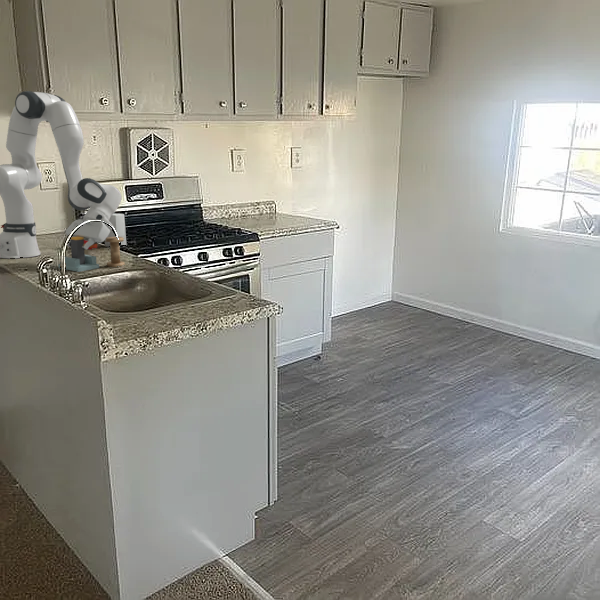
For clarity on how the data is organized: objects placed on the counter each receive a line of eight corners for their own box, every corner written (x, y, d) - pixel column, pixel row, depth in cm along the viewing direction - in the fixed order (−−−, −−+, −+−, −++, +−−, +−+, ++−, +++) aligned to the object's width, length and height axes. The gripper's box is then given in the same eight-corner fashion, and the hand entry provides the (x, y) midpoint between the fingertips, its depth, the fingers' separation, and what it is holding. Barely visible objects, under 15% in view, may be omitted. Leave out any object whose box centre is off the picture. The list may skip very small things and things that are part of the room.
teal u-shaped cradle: (58, 267, 244) (57, 256, 242) (79, 264, 252) (78, 253, 251) (78, 271, 237) (77, 260, 236) (99, 267, 246) (98, 256, 244)
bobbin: (104, 267, 248) (102, 238, 245) (110, 263, 254) (108, 236, 252) (121, 267, 247) (120, 239, 245) (127, 264, 254) (125, 237, 251)
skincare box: (126, 246, 299) (125, 214, 295) (117, 247, 293) (115, 215, 290) (114, 244, 303) (112, 212, 299) (104, 246, 297) (102, 213, 293)
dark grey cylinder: (72, 264, 244) (70, 237, 241) (79, 263, 247) (77, 236, 244) (77, 265, 242) (76, 238, 239) (85, 264, 245) (83, 237, 242)
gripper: (73, 213, 251) (54, 239, 245) (107, 217, 240) (88, 245, 234) (83, 223, 255) (64, 249, 250) (116, 227, 245) (98, 255, 239)
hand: (76, 247), depth 242 cm, fingers open, 8 cm apart
